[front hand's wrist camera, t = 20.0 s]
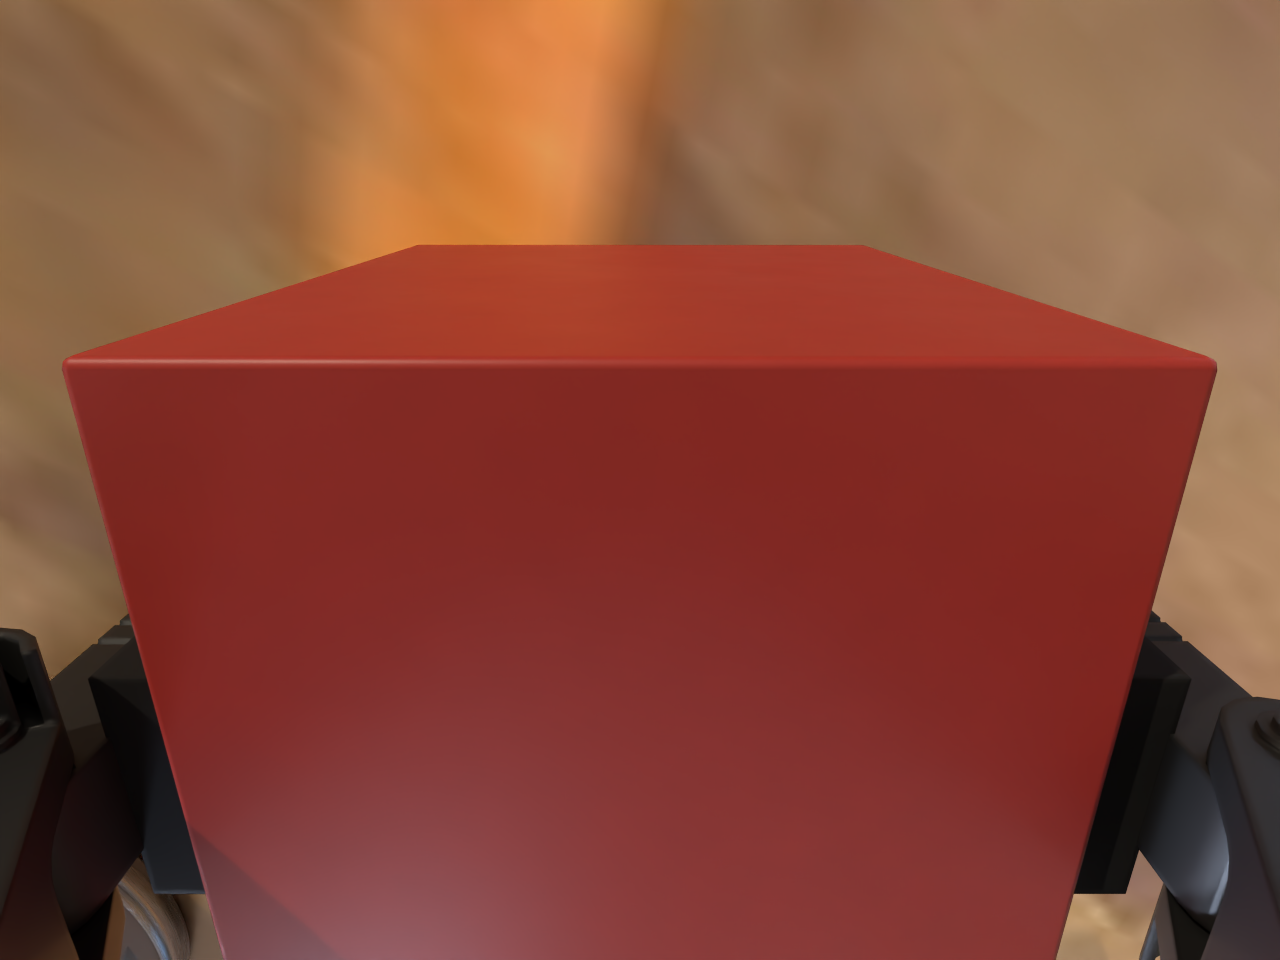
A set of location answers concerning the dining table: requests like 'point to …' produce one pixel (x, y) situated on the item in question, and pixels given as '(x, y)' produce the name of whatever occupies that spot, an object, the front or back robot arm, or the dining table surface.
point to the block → (639, 599)
